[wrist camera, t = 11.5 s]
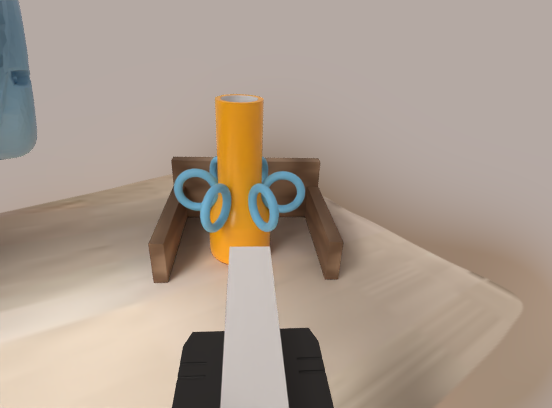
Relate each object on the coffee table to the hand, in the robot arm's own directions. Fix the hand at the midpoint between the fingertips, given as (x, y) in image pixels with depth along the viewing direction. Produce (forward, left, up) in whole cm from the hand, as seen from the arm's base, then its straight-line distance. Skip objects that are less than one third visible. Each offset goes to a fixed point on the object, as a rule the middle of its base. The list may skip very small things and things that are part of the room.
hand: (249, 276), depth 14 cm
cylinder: (-13, +15, -12) cm, 23 cm away
